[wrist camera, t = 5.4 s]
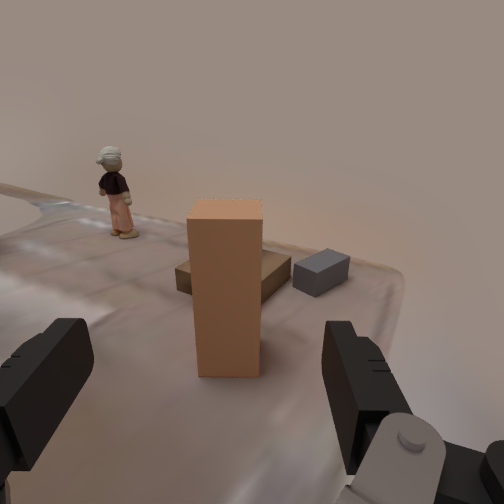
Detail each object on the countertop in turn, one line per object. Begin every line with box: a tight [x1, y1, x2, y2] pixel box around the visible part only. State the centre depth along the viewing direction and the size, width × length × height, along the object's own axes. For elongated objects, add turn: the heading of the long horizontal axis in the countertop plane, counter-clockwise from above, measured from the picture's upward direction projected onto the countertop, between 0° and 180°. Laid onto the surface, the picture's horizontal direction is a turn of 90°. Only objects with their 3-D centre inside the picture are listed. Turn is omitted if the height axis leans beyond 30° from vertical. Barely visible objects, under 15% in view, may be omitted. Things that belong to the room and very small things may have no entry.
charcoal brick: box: [293, 249, 350, 297], centre depth 37 cm, size 3×6×3 cm, turn 133°
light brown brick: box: [187, 199, 263, 377], centre depth 24 cm, size 4×4×12 cm
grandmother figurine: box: [96, 146, 139, 239], centre depth 48 cm, size 8×4×13 cm, turn 62°
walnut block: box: [175, 249, 291, 304], centre depth 36 cm, size 9×9×3 cm
